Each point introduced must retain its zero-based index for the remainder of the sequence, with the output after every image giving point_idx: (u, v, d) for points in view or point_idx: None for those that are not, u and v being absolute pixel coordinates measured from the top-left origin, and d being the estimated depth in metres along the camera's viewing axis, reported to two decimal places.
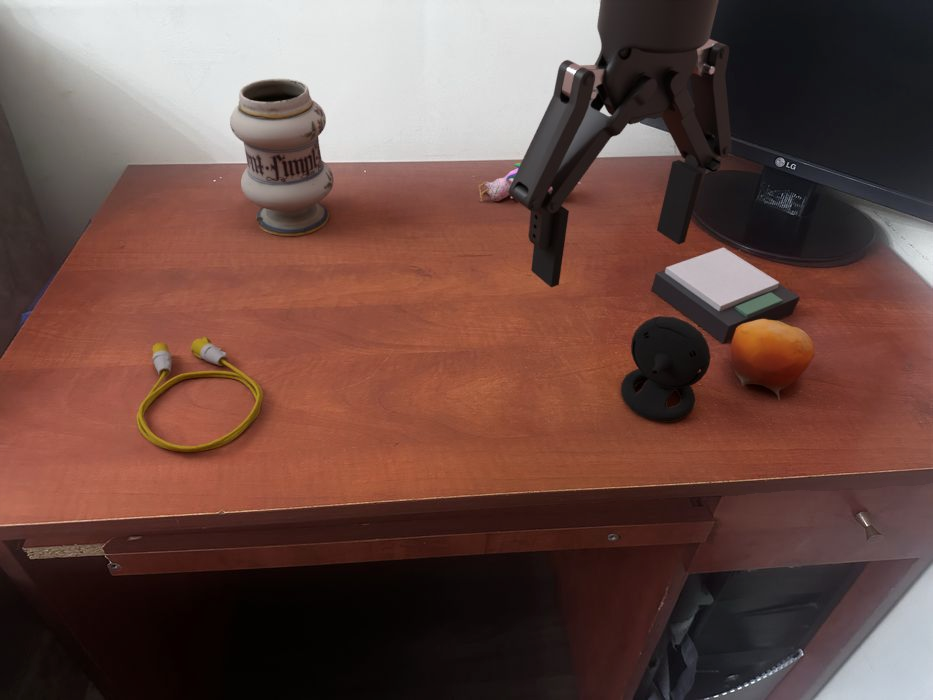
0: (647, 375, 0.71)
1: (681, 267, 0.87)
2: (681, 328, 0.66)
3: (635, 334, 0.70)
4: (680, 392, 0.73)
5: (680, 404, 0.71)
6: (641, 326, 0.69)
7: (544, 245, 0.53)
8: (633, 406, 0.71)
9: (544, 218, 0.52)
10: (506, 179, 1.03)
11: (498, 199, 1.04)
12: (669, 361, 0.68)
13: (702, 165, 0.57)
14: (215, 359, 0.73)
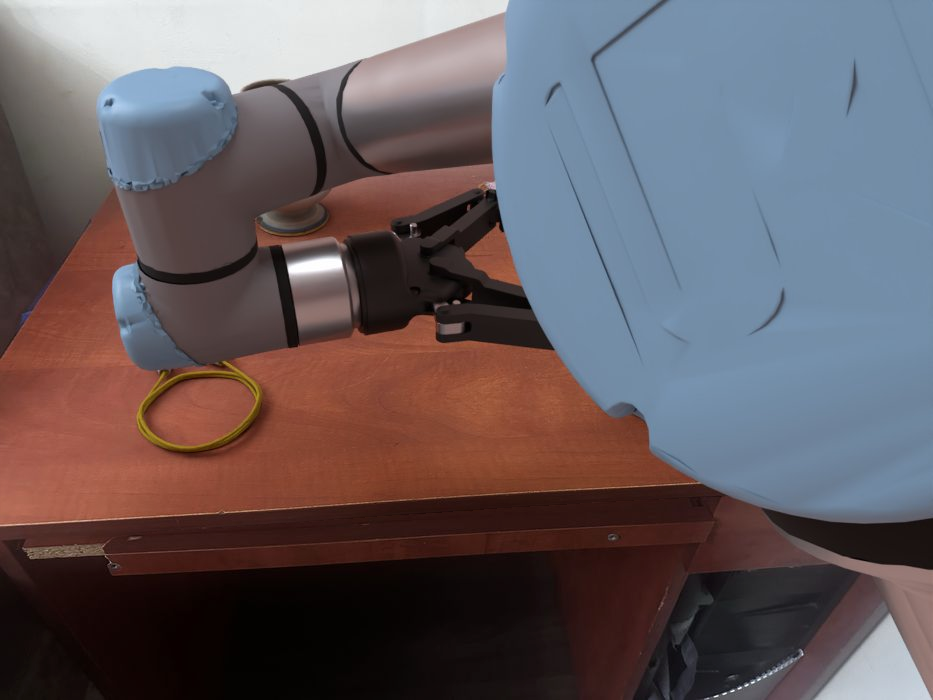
0: None
1: None
2: None
3: None
4: None
5: None
6: None
7: None
8: None
9: None
10: None
11: None
12: None
13: (495, 203, 0.60)
14: None
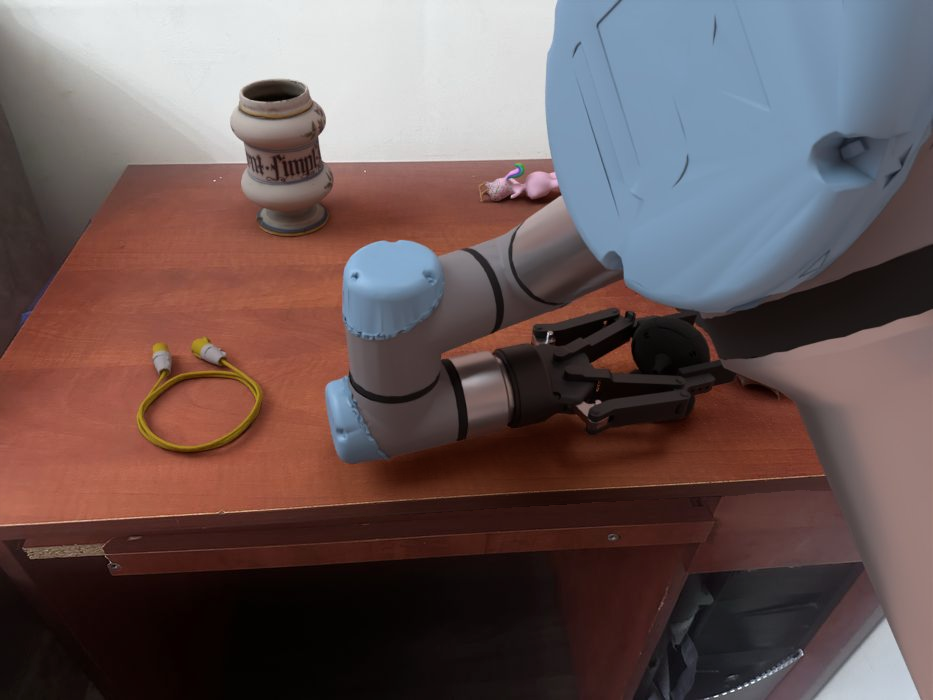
0: None
1: None
2: (681, 328, 0.66)
3: (635, 334, 0.70)
4: None
5: None
6: (641, 326, 0.69)
7: (711, 377, 0.66)
8: None
9: (691, 384, 0.65)
10: (506, 179, 1.03)
11: (498, 199, 1.04)
12: (669, 361, 0.68)
13: (631, 324, 0.71)
14: (215, 359, 0.73)
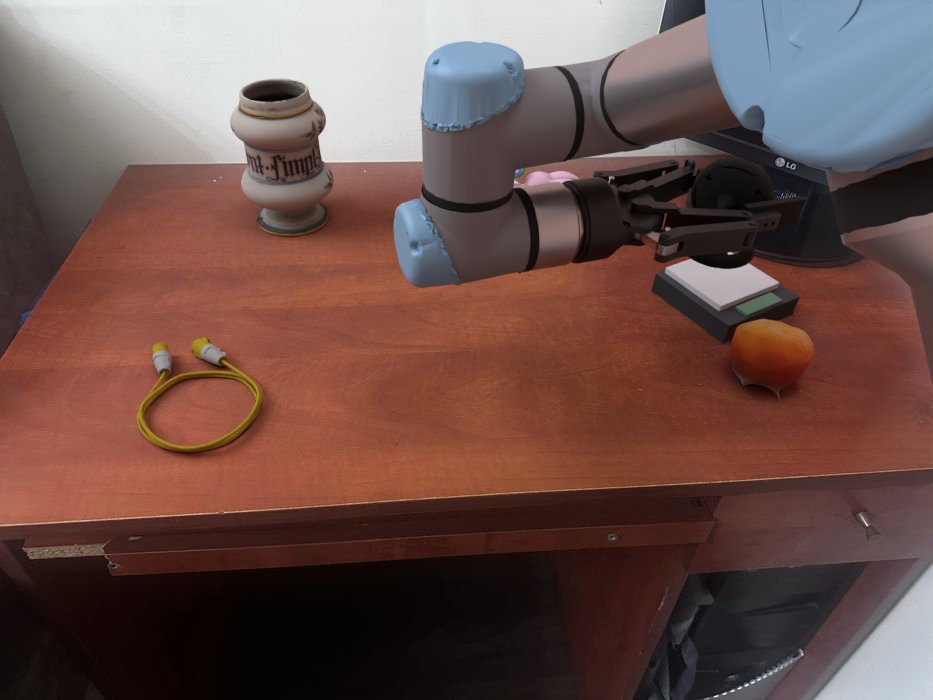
0: None
1: (681, 267, 0.87)
2: (746, 165, 0.66)
3: (696, 179, 0.69)
4: None
5: (741, 252, 0.71)
6: (703, 170, 0.69)
7: (776, 213, 0.66)
8: None
9: (757, 218, 0.65)
10: None
11: None
12: (733, 202, 0.67)
13: (691, 172, 0.71)
14: (215, 359, 0.73)
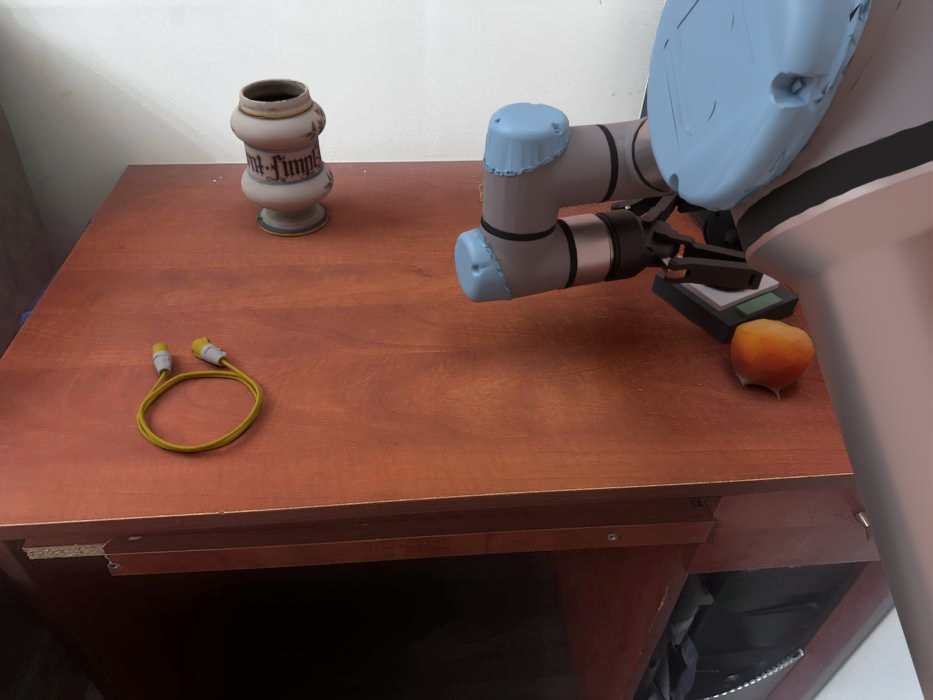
0: None
1: None
2: None
3: (707, 215, 0.82)
4: None
5: None
6: None
7: None
8: None
9: None
10: None
11: None
12: (737, 235, 0.80)
13: (678, 192, 0.84)
14: (215, 359, 0.73)
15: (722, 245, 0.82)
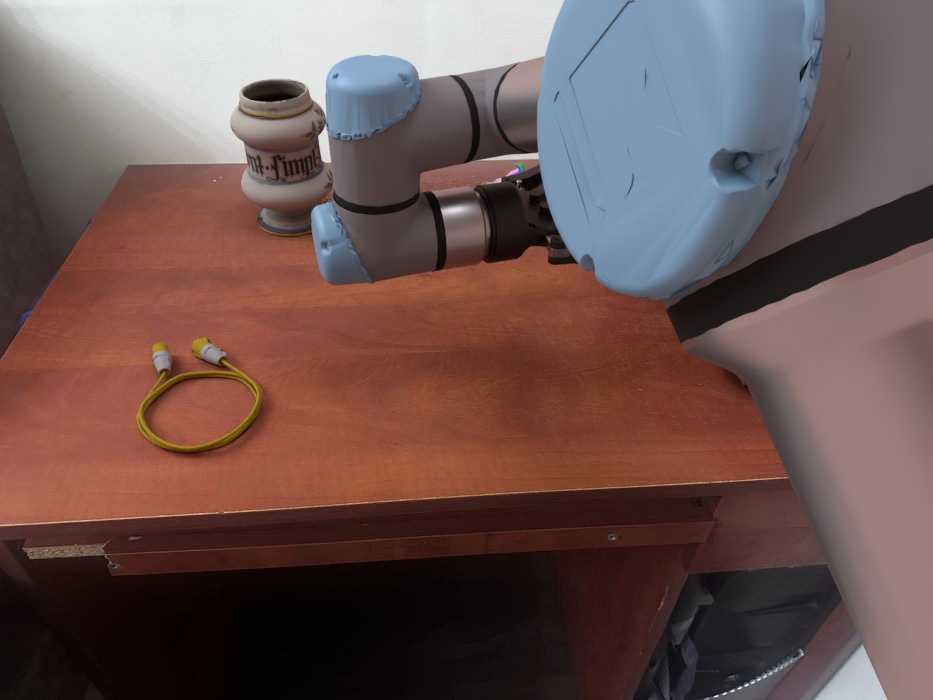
0: None
1: None
2: None
3: None
4: None
5: None
6: None
7: None
8: None
9: None
10: None
11: None
12: None
13: None
14: (215, 359, 0.73)
15: None
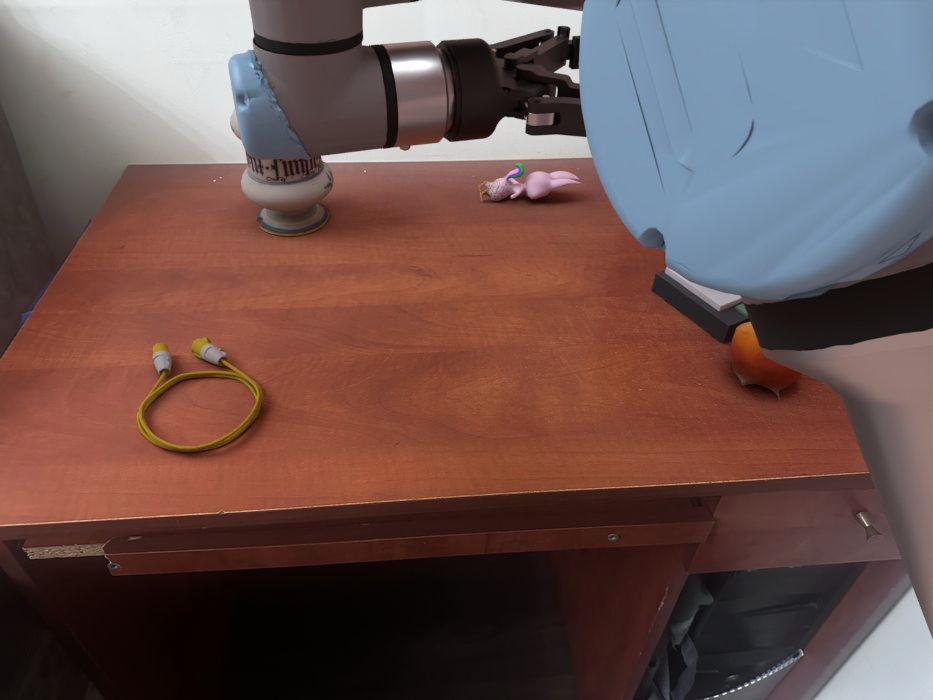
0: None
1: None
2: None
3: None
4: None
5: None
6: None
7: None
8: None
9: None
10: (506, 179, 1.03)
11: (498, 199, 1.04)
12: None
13: (566, 38, 0.63)
14: (215, 359, 0.73)
15: None
